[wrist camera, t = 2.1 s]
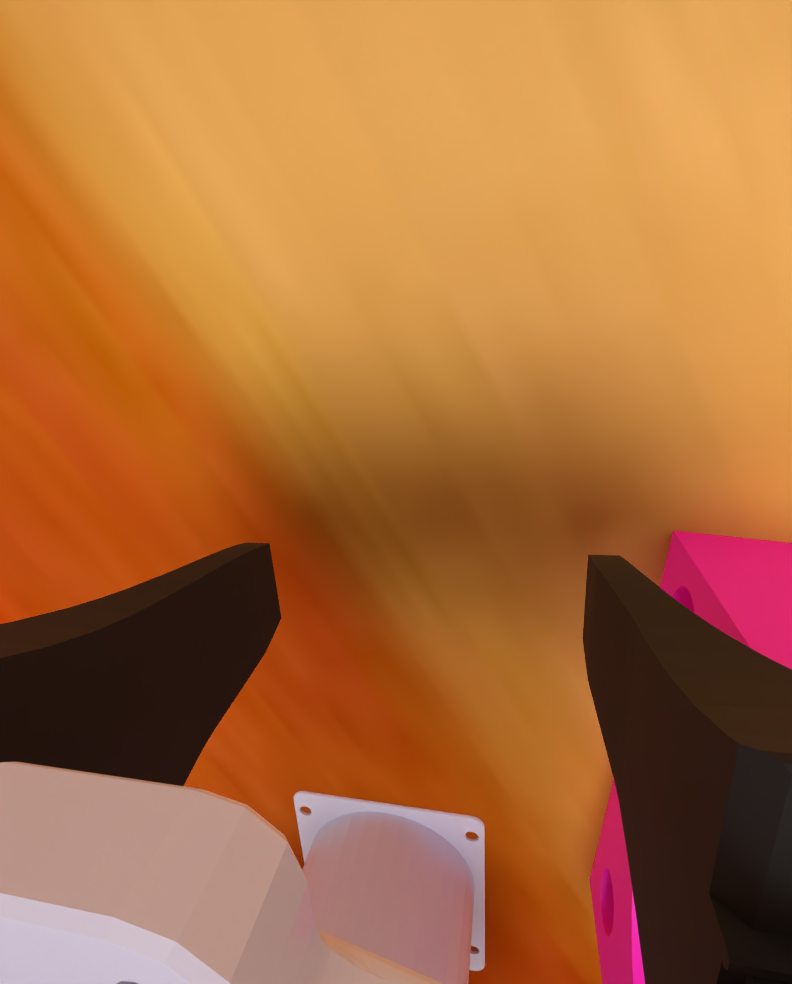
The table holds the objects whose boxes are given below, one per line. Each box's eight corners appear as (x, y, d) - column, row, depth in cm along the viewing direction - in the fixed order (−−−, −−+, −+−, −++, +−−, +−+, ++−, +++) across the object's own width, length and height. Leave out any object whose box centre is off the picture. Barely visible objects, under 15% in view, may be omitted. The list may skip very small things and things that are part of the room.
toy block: (765, 913, 20) (899, 1248, 13) (588, 874, 21) (625, 1162, 14) (921, 554, 14) (1300, 800, 7) (671, 528, 15) (797, 719, 8)
